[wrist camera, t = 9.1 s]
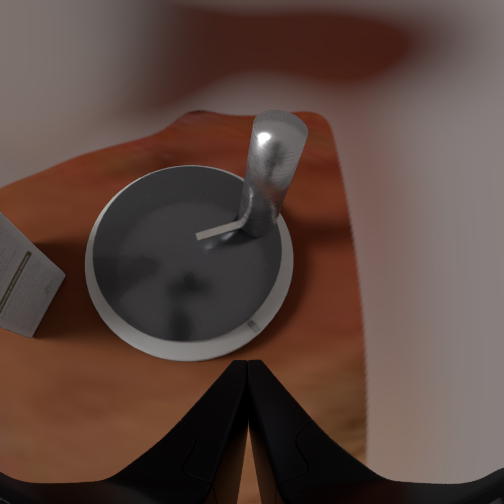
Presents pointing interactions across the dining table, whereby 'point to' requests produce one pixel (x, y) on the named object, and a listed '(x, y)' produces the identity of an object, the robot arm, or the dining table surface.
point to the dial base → (197, 349)
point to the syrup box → (24, 281)
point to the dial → (199, 240)
